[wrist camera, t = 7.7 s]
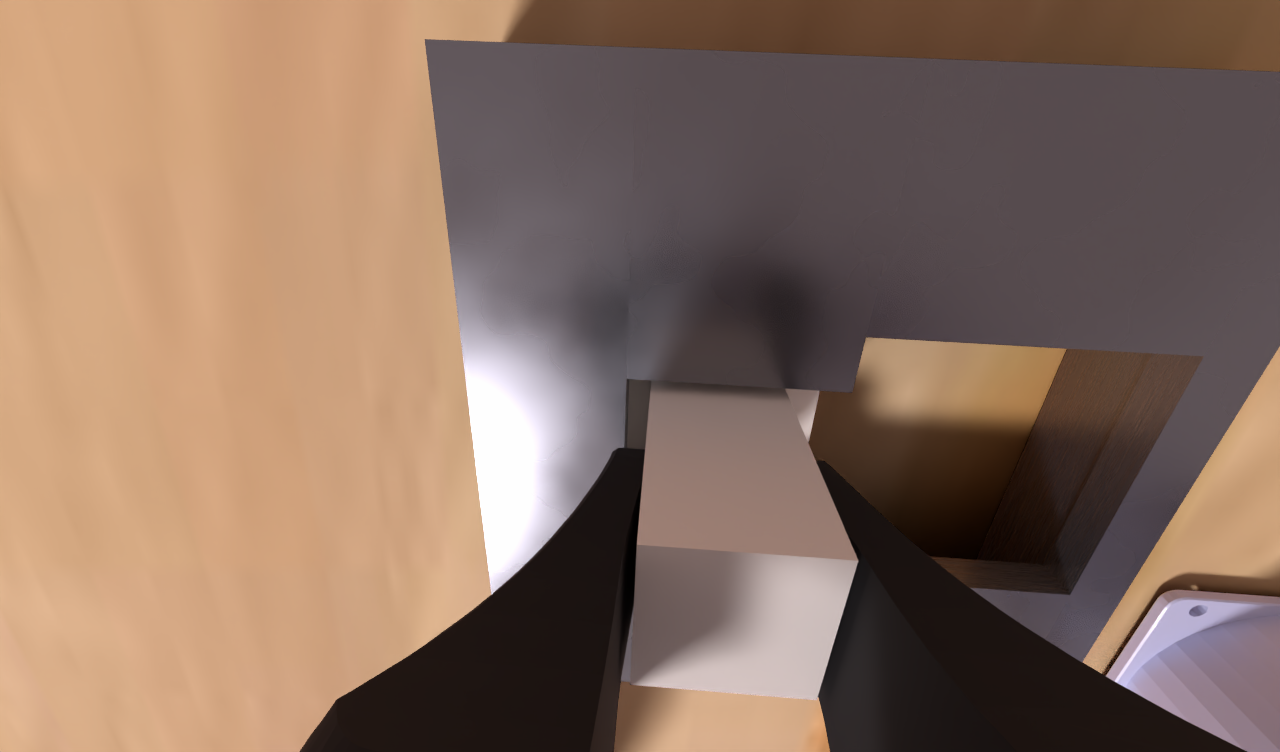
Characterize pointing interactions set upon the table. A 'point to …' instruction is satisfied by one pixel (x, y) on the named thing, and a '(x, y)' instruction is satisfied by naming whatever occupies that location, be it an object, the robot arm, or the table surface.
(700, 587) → the peg
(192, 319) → the table surface
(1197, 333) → the keyhole plate
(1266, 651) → the robot arm
